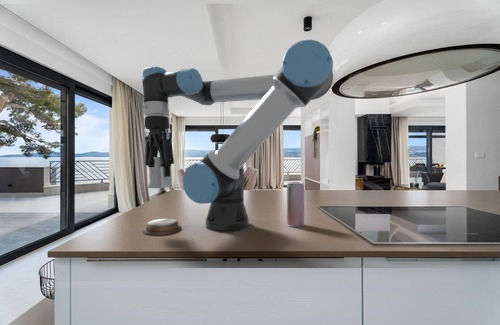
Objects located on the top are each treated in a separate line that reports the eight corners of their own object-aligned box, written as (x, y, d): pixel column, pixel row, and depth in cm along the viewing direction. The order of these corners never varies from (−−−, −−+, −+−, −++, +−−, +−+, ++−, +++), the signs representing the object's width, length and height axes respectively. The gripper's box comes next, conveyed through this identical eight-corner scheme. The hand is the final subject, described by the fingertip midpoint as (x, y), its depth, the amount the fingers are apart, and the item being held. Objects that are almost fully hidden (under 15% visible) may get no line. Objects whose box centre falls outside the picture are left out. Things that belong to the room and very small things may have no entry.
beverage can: (287, 223, 92) (286, 181, 92) (303, 223, 92) (303, 182, 92) (287, 227, 87) (286, 183, 86) (305, 227, 86) (304, 183, 86)
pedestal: (185, 225, 90) (185, 217, 90) (174, 235, 78) (174, 226, 78) (152, 225, 91) (151, 217, 91) (135, 235, 79) (135, 226, 79)
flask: (165, 188, 79) (163, 156, 79) (143, 189, 80) (142, 157, 80) (175, 186, 86) (174, 156, 86) (155, 186, 87) (154, 157, 87)
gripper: (132, 120, 87) (135, 187, 87) (160, 110, 73) (164, 189, 73) (153, 122, 93) (156, 184, 93) (183, 112, 79) (187, 186, 79)
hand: (159, 186), depth 83 cm, fingers closed on flask, 7 cm apart
